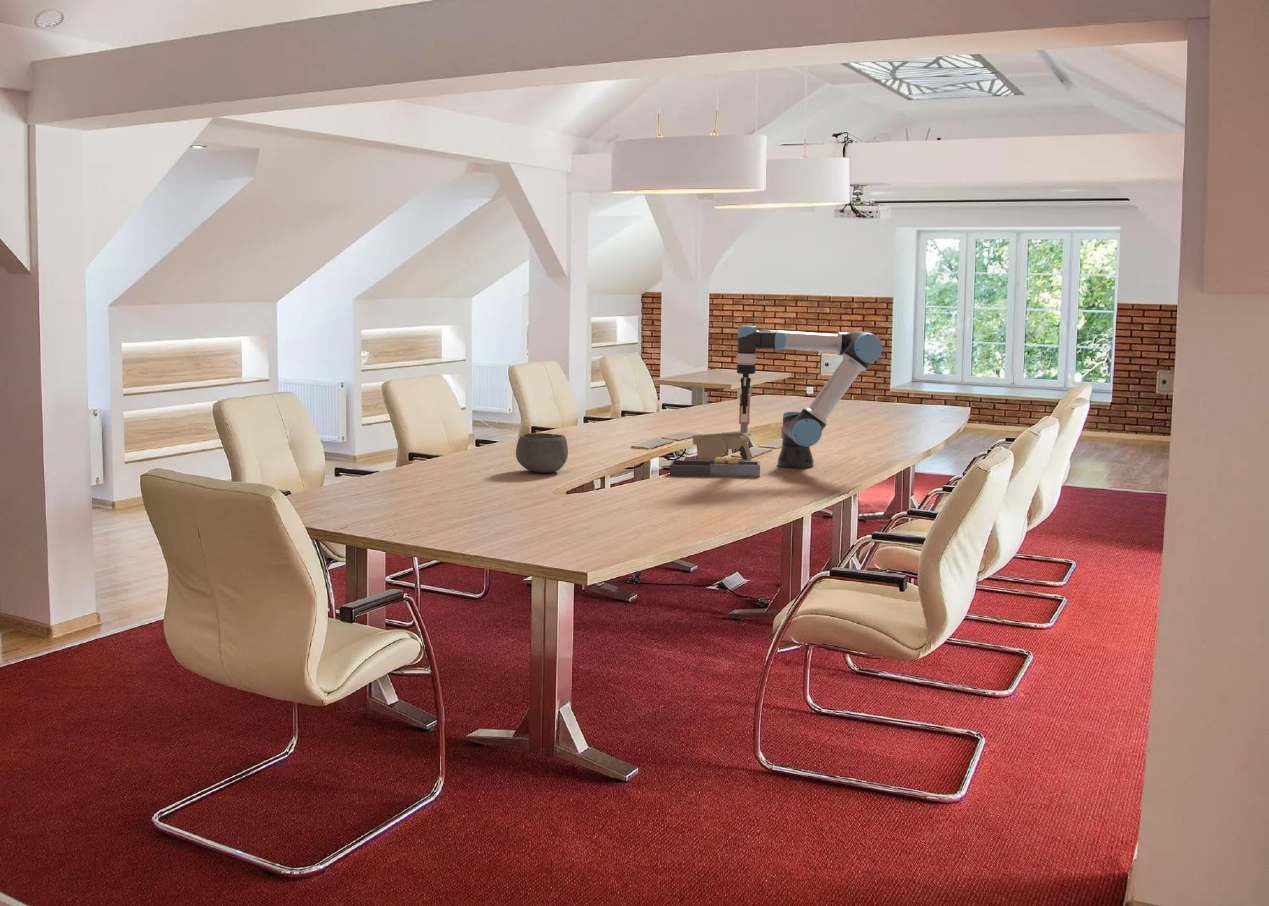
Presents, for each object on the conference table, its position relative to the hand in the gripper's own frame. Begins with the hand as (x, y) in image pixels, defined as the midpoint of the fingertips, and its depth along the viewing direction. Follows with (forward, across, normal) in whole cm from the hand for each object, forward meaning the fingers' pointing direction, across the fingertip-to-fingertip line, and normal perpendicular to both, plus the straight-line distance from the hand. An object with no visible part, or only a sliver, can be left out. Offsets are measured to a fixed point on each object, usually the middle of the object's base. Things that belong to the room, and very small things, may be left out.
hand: (744, 420), depth 498 cm
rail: (+21, +9, -3) cm, 23 cm away
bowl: (+22, +18, -80) cm, 85 cm away
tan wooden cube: (+18, +9, -9) cm, 22 cm away
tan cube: (+18, +10, -4) cm, 21 cm away
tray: (+21, +10, -21) cm, 31 cm away
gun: (+21, -14, -10) cm, 27 cm away
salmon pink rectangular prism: (+5, 0, 0) cm, 5 cm away
